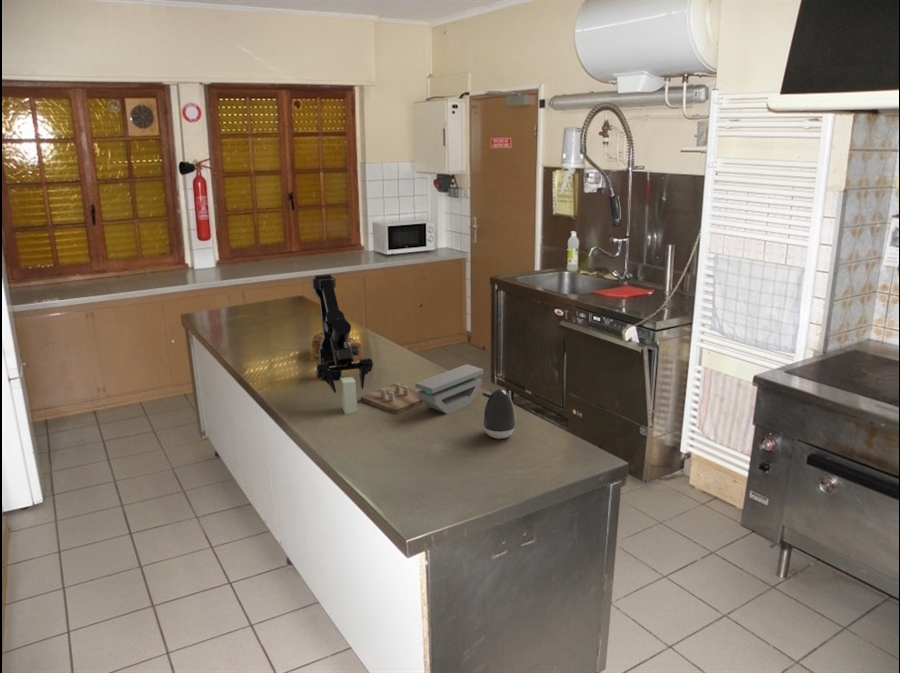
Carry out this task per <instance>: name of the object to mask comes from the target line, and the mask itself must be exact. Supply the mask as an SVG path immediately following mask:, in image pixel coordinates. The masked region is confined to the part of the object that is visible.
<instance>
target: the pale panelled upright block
mask: <svg viewBox="0 0 900 673" xmlns="http://www.w3.org/2000/svg"><path fill="white" fill-rule="evenodd" d="M356 384H357V382H356V379H355V378H354V376H346V377H340V387H341V388H340V389H341V407H342V410H343V412H344V414H345V415H348V414H355V412H356V413H358V403H357V401H358V399H357V385H356Z"/></svg>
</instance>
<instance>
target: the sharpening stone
mask: <svg viewBox="0 0 900 673" xmlns="http://www.w3.org/2000/svg"><path fill="white" fill-rule="evenodd" d="M480 375H484V368H480V367H477V366H473V365H470V364H467V363H466V364H464V365H461V366H458V367H455V368H453V369H450V370H446V371H444V372H442V373H439V374H436V375H434V376H431V377H428V378H425V379H423V380H420V381H417V382H415V383H414V384H415V385H414V386H415V388H416V389H419V390H418V391H417V392H418V398H419V399H420V400H422V401H423V402H424V403H423V404H425V405H427V406H428V407H429V408H430V409H432V408H433V410H435V411H439V412H440V411H441V413H443V414H446V415H448V414H451V413H453V412H455V411H457V410H461V409H463V408H465V407H467V406H469V405H471V404H472V402H473V400H474V398H475V397H476V395H477V393H478V392H479V390H480V388H481V386H482V378H478V376H480Z"/></svg>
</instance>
